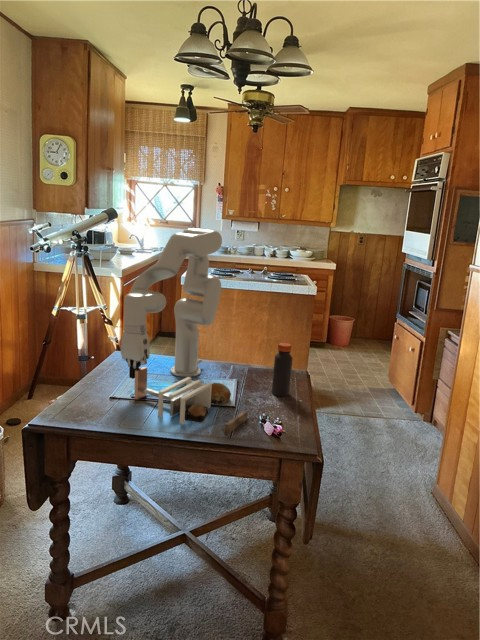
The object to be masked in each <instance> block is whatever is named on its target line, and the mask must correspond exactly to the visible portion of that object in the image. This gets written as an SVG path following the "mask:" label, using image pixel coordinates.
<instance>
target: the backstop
mask: <svg viewBox="0 0 480 640" xmlns="http://www.w3.org/2000/svg"><path fill="white" fill-rule="evenodd" d="M247 418H248V411H247V410H243V411H242V412H240V413H238V414H237V415H236V416H235V417H233V418H232V419H230V420H229V421H227V422H226V423H225V424H224V432H223V433H224V434H227V435H229V434H230V433H231V432H233V431H234V430H235V429H236V428H238V427H239V426H240V425H241V424H243V423H244V422H245V421H246V420H248V419H247Z"/></svg>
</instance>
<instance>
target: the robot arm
mask: <svg viewBox="0 0 480 640" xmlns="http://www.w3.org/2000/svg"><path fill="white" fill-rule="evenodd" d="M222 244H223V238H222V235H221V233H220V232H219V231H217V230H215V229H213V230H212V229H205V228H196V227H192V228H191V227H188V228H186V229H183V231H182V232H175V233H173V234H171V236H170V237H169V239H168V241H167V243H166V244H165V247H164V248H163V250H162V252H161V253H160V256H159V258H158V259H157V262H156V263H155V264H153V265H152V266H149V267H148V268H147V269H146V270H144V271H143V272H141V274H139V275H138V276H137V277H136V279H135V281H134V282H133V284H132V286H131V288H130V291H129V292H128V293H127V294H126V295H125V296H124V301H123V302H124V305H123V308H124V310H123V311H124V312H123V314H124V315H123V331H122V335H121V342H120V355H121V359H122V360H124V361H125V362H126V363H127V367H128V368H129V376H128V377H129V379H133V380H135V370H137V369H140V368H141V366H145V365H147V364H148V359H149V360H150V357H151V356H150V353H151V352H150V340H149V339H150V338H149V334H148V328H147V314H150V313H151V314H154V313H155V314H156V313H160V312H162V311H163V310H164V309H165V308H166V305H167V298H166V296H165V295H164V294H163V293H161V292H159V291H155V290H149V289H150V287H152V285H154V284H155V283H157V282H160V281H163V280H167V279H170V278H173V277H175V276H176V275H177V274H179V273H178V272H179V271H180V269H181V267H182V264H183V262H184V261H185V259H186V257H188V263H187V268H186V273H185V277H184V281H183V291H184V293H185V294H187V295H189V296H193V297H196V298H197V297H198V298H202V300H200V299H199V300H198V299H193V298H180V299H179V300H177V301H176V302H175V305H174V308H173V310H174V311H173V312H174V313H173V314H174V320H175V345H174V346H175V347H174V365H173V366H172V367H171V368H170V373H171V374H172V375H174V376H176V377H179V378H180V377H181V378H187V377H191V378H192V377H196V376H199V375H200V374H201V368H200V367H199V365H200V364H202V363H203V359H202V358H198V356H199V341H200V340H199V339H200V331H199V327H198V325H199V326H203V327H204V326H205V327H207V326H208V327H209V326H210V325H212V324H213V322H214V321H215V319H216V315H217V312H218V307H219V303H220V299H221V294H222V283H221V280H220V278H219V277H218V276H215V275H211V274H208V272H209V267H210V259H209V257H208V255H210V254H213V253H216V252H218V251H219V250H220V248H221V247H222Z"/></svg>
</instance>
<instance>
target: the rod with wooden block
mask: <svg viewBox="0 0 480 640" xmlns="http://www.w3.org/2000/svg"><path fill="white" fill-rule="evenodd" d="M147 386H148V367H147V366H142V367H139V369H137V370H135V378H134V399H135V400H140V399H142V398H144V397H146V396H147V395H149V396H152V397H156V398H159V391H157V390H155V389H151V388H148V387H147ZM194 390H195V389H193V388H192V389H190V390H188V391H187V392H184V393H182V394H180V395H178V396H176V397H174V398H170V397H169V394H168V393H165V394H164V395H163V400H166V401H170V405H169V416H170V417H175V416H177V415H178V414H180V405H181V401H180V398H181V397H182V396H184V395H186V394H188V393H190V392H192V391H194ZM194 404H195V396H193V397H191V398H189V399H188V400H186V402H185V410H186V409H187V408H188V406H189V405H194Z"/></svg>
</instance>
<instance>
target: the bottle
mask: <svg viewBox="0 0 480 640" xmlns="http://www.w3.org/2000/svg"><path fill="white" fill-rule="evenodd" d="M277 351H278V353H276V354H275V356H274V363H273V373H272V384H271V393H272V395H274V396H276V397H281V398H282V397H287V396H289V394H290V387H291V378H292V377H291V376H292V369H293V356H292V355H291V352H292V344H290V343H288V342H280V343H278V347H277Z"/></svg>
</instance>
